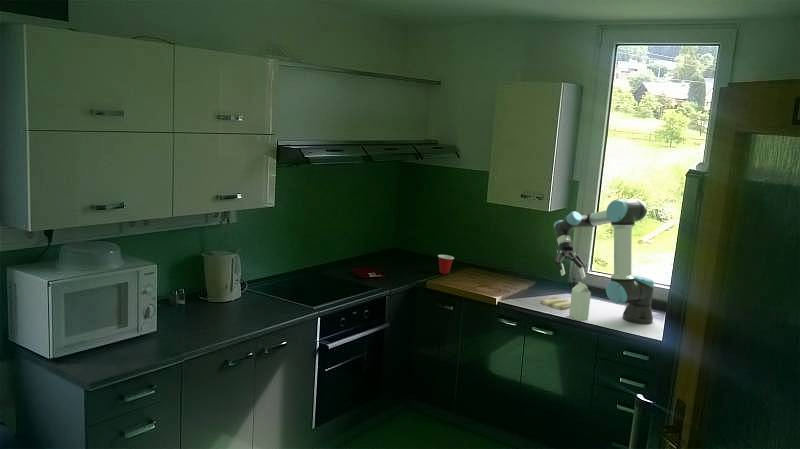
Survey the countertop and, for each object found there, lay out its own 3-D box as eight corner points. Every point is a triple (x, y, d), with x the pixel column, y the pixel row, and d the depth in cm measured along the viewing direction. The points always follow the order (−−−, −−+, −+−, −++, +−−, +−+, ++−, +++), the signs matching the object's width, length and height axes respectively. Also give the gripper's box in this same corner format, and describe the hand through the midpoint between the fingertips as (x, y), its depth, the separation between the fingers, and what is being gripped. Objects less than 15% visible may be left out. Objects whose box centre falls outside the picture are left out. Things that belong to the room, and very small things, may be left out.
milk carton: (576, 320, 330) (579, 285, 327) (568, 315, 337) (572, 281, 334) (587, 319, 332) (591, 285, 329) (580, 315, 339) (584, 281, 336)
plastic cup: (455, 276, 409) (456, 257, 407) (439, 276, 406) (440, 257, 404) (450, 271, 419) (451, 254, 417) (434, 271, 416) (435, 254, 414)
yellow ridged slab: (577, 306, 356) (577, 303, 356) (563, 310, 347) (563, 307, 347) (554, 299, 367) (554, 297, 367) (540, 303, 358) (540, 300, 358)
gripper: (579, 251, 371) (588, 282, 358) (543, 244, 362) (551, 276, 350) (586, 244, 365) (596, 275, 353) (550, 237, 357) (558, 269, 344)
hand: (573, 276), depth 351 cm, fingers open, 13 cm apart
